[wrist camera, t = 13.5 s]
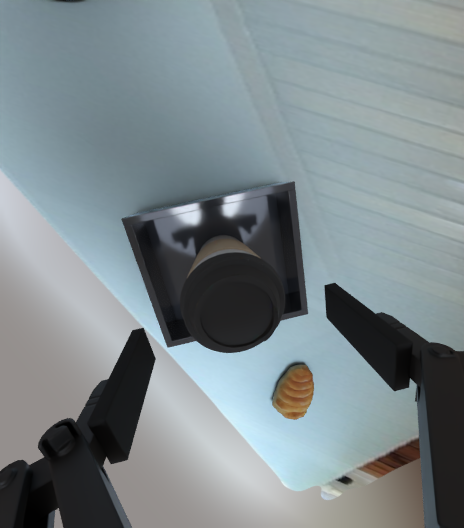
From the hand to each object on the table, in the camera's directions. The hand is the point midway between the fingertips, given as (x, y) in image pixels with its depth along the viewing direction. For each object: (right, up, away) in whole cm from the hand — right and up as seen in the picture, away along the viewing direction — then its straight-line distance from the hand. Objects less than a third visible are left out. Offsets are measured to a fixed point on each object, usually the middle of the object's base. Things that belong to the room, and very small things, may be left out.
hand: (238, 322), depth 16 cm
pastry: (+10, -18, +25) cm, 33 cm away
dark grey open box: (-2, +5, +16) cm, 17 cm away
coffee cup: (-2, +5, +15) cm, 16 cm away
